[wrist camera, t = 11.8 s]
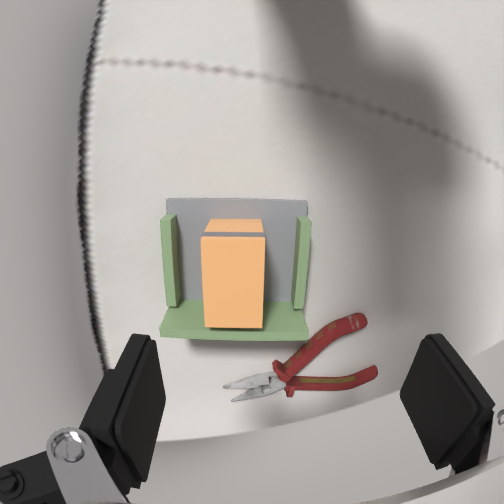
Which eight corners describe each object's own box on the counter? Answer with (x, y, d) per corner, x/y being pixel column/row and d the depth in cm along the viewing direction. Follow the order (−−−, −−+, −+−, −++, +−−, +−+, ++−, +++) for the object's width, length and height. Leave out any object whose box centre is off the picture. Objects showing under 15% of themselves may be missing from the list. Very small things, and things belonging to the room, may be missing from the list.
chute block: (209, 218, 30) (199, 238, 24) (261, 218, 31) (265, 239, 24) (212, 292, 33) (204, 327, 27) (259, 292, 33) (262, 328, 27)
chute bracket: (168, 198, 31) (148, 212, 24) (306, 200, 31) (321, 214, 24) (174, 303, 34) (160, 336, 28) (297, 306, 35) (307, 340, 28)
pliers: (209, 358, 38) (207, 371, 35) (361, 305, 36) (368, 316, 33) (243, 412, 41) (243, 425, 39) (375, 368, 39) (381, 380, 37)
